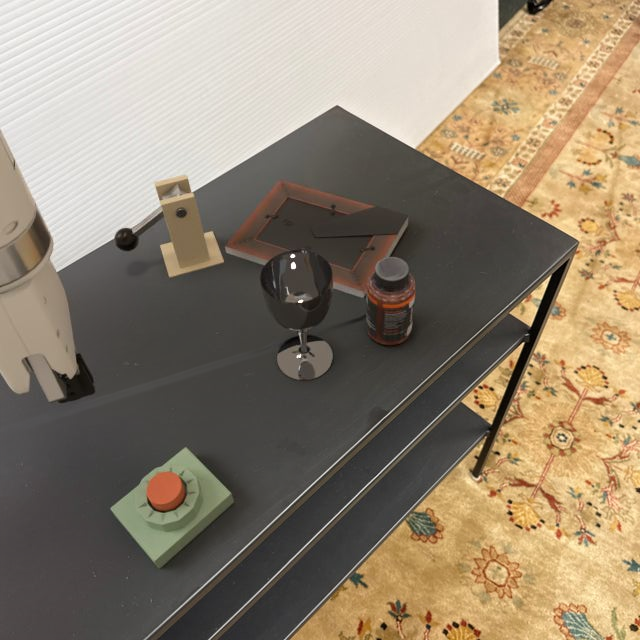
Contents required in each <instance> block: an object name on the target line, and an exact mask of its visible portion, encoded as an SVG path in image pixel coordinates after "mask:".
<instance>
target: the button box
mask: <svg viewBox="0 0 640 640" xmlns="http://www.w3.org/2000/svg"><path fill="white" fill-rule="evenodd" d="M161 472H173V473H175V474H177V475H178V476H179V477H180V479H181V481H182V483H183V485H184V488H185V496H184V499H183V501H182V502H181V504H180V505H179V506H178V507H176V508H175V509H173V510H170V511H160V510H158V509H156V508H155V507H154V506H153V505H152V504H151V502H150V500H149V498H148V496H147V493H146V490H147V485H148V483H149V481H150V480H151V479H152V478H153V477H154V476H155V475H157V474H159V473H161ZM234 503H235V499H234V497H233V493H232V492H231V491H230V490H229V489H228V488H227V487H226V486H225V485H224V484H223V483H222V482H221V481H220V480H219V479H218V478H217V477H216V476H215V474H214V473H212V472H211V471H210V470H209V469H208V468H207V466H205V464H204V463H202V462H201V461H200V459H198V457H196V455H195V454H193V453H192V452H191V450H190V449H189V448H187V447H186V446H185V447H184V448H183V449H181V450H180V451H178V452H177V453H176V454H175V455H174V456H172V457H171V458H169V460H167V461H166V462H165V463H164V464H163V465H162V466H158V467H154V469H152V470H151V471H150V472H148V474H146V475H145V476H144V477H142V479H141V481H140V483H139V484H138V485H137V486H135V487H134V488H133V489H132V490H130V491H129V492H128V493H127V494H126V495H124V496H123V497H122V498H120V500H118V501H117V502H116V503H115V504H113V505H112V506H111V507H110V511H111V512H112V513H113V515H114V516H115V518H116V519H117V520H118V521H119V522H120V524H121V525H122V526H123V527H124V528H125V530H126V531H127V532H128V533H129V535H130V536H131V537H132V538H133V539H134V540H135V542H136V543H137V545H139V547H140V548H141V549H142V550H143V552H144V553H145V554H146V555H147V556H148V558H149V559H150V560H151V561H152V562H153V563H154V565H155V566H156V568H158V569H159V570H160V569H162V568H163V567H164V566H165V564H167V563H169V561H170V560H171V559H172V558H173V557H174V556H176V555H177V554H178V553H179V552H181V550H183V549H184V548H185V547H186V546H187V545H188V544H189V543H191V541H193V540H194V539H195V538H196V537H197V536H198V535H199V534H200V533H202V532H203V531H204V530H205V529H206V528H207V527H208V526H209V525H210V524H211V523H213V522H214V521H215V520H216V519H217V518H218V517H219V516H221V515H222V514H223V513H224V512H225V511H227V509H228V508H230V507H231V506H232V505H233V504H234Z"/></svg>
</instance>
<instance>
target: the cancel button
mask: <svg viewBox="0 0 640 640" xmlns="http://www.w3.org/2000/svg"><path fill="white" fill-rule="evenodd" d="M146 493H147V496H148V498H149V500H150V502H151V504H152V505H153V506H154V507H155V508H156V509H158V510H160V511H170V510H173V509H175V508H176V507H178V506H179V505H180V504H181V502H182V501H183V499H184V496H185V488H184V485H183V483H182V481H181V479H180V477H179V476H178V475H177V474H175V473H173V472H161V473H159V474H157V475H155V476H154V477H153V478H152V479H151V480H150V481H149V483H148V485H147V490H146Z"/></svg>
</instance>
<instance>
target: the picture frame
mask: <svg viewBox="0 0 640 640" xmlns="http://www.w3.org/2000/svg"><path fill="white" fill-rule="evenodd" d="M408 226H409V214H406V213H402V212H400V211H395V210H392V209H389V208H385V207H381V206H378V205H375V206H374V205H372V204H371V205H370V204H368V203H365V202H360V201H357V200H353V199H351V198H350V199H349V198H347V197H343V196H338V195H335V194H332V193H328V192H325V191H321V190H318V189H314V188H310V187H308V186H304V185H300V184H296V183H294V182H289V181H286V180H282V179H279V180H278V181H277V182H276V183H275V185H273V187H272V188H271V189H270V191H269V192H268V193H267V194H266V196H265V197H264V198H263V200H261V202H260V203H259V204H258V205H257V206H256V208H255V209H254V210H253V211H252V213H251V214H250V215H249V217H247V218H246V220H245V221H244V222H243V224H241V226H240V227H239V229H238V230H237V231H236V232H235V233H234V234H233V236H231V238H230V239H229V240H228V242H226V244H225V245H224V249H225V253H226V254H228V255H232V256H234V257H237V258H240V259H243V260H247V261H250V262H252V263H255V264H259V265H261V266H263V267H264V266H265V264H266V263H267V262H268V261H269V260H270V259H272V258H273V257H275V256H277V255H279V254H281V253H284V252H287V251H293V250H305V251H310V252H313V253H316V254H318V255H320V256H322V257H323V258H324V259H325V260H326V261H327V262H328V263H329V264H330V266H331V269H332V274H333V290H336V291H337V290H338V291H340V292H343V293H346V294H350V295H353V296H356V297H359V298H362V299H364V297H365V296H366V292H367V281H368V279H369V277H370V275H371V274H372V273H373V272H375V266H376V264H377V263H378V262H379V261H380V260H381V259H384V258H387V257H391V255H392V253H393V251H394V249H395V248H396V246H397V245H398V243H399V241H400V239H401V238H402V236H403V234H404V233H405V231H406V229H407V227H408Z"/></svg>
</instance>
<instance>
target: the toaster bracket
mask: <svg viewBox="0 0 640 640" xmlns="http://www.w3.org/2000/svg"><path fill="white" fill-rule="evenodd" d="M153 184H154V187H155V190H156V193H157V197H158V200H159V203H160V206H161V207H162V210H163V213H164V217H163V218H164V220H165V224H166V227H167V230H168V233H169V237H170V242H167V243H163V244H160V245H159V247H160V250H161V254H162V257H163V261H164V264H165V268H166V272H167V274H168V278H169V279H171V278H175V277H179V276H182V275H186V274H189V273H192V272H196V271H199V270H203V269H207V268H210V267H213V266H217V265H221V264H225V260H224V257H223V254H222V251H221V249H220V246H219V243H218V241H217V238H216V236H215V233H214V231H213V230H211V231H208V232H204V228H203V225H202V220H201V216H200V213H199V209H198V205H197V201H196V197H195V193H194V192H193V191H192V188H191V185H190V181H189V178H188V175H187V174H183V175H178V176H174V177H170V178H167V179H162V180H159V181H154V182H153ZM177 184H178V185H179V186H180V187H181V188H183V189H184V190H185V191H186V192H187V194H184V195H180V196H176V197H172V198H168V199H164V200H163V199H162V196H163V195H164V194H165V193H167V192H168V191H169V190H170V189H172V188H173V187H174V186H175V185H177Z"/></svg>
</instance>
